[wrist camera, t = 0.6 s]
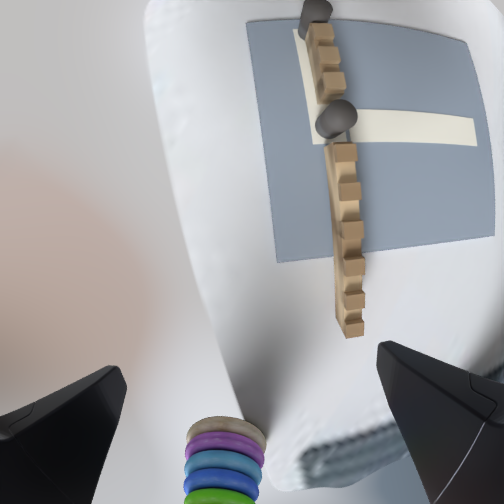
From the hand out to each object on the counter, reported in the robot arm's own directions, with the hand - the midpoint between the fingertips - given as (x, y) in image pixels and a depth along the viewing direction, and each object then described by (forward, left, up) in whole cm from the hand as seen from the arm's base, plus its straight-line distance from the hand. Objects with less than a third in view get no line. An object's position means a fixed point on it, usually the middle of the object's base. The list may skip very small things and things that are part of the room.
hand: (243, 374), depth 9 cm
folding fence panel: (-6, -2, -12) cm, 13 cm away
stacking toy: (+5, +18, -13) cm, 22 cm away
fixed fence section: (-6, -13, -12) cm, 19 cm away
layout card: (-12, -9, -12) cm, 19 cm away
